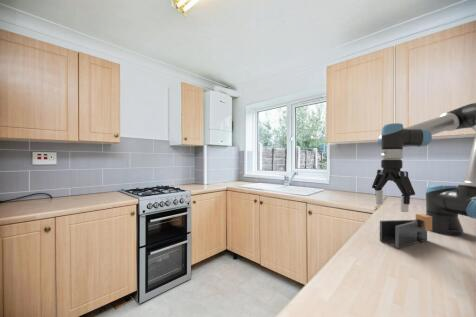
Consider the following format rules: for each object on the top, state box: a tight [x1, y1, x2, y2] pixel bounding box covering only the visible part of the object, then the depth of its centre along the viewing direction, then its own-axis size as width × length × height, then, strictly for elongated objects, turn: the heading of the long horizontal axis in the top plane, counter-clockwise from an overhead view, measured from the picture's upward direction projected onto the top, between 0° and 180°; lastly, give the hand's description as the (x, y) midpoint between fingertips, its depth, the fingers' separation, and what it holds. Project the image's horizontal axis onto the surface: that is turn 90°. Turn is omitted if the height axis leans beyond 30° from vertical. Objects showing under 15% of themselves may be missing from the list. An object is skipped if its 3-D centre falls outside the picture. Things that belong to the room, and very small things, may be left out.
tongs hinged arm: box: [394, 221, 419, 249], centre depth 88 cm, size 15×1×9 cm, turn 117°
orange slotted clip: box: [415, 213, 432, 232], centre depth 93 cm, size 3×4×6 cm
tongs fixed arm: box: [379, 219, 428, 244], centre depth 92 cm, size 22×3×9 cm, turn 95°
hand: (390, 207), depth 92 cm, fingers open, 13 cm apart
